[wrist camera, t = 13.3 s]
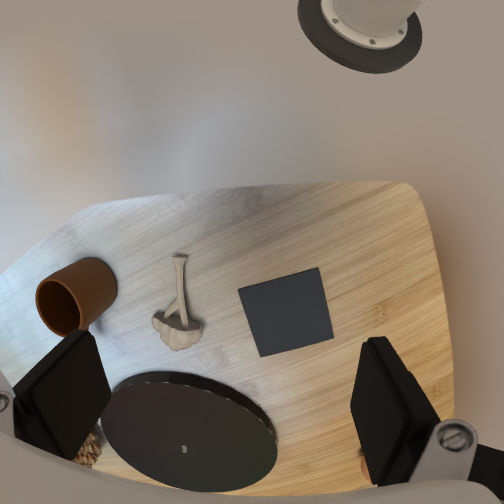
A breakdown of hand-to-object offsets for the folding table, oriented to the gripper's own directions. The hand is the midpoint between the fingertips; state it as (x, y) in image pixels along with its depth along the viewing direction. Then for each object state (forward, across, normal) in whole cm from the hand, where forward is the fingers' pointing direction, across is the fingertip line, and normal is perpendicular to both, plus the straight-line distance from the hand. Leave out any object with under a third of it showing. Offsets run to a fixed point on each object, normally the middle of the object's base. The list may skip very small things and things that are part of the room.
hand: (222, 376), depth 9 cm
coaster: (+26, -4, +11) cm, 29 cm away
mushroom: (+26, +10, +9) cm, 29 cm away
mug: (+26, +22, +9) cm, 35 cm away
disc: (+26, +12, +35) cm, 45 cm away
